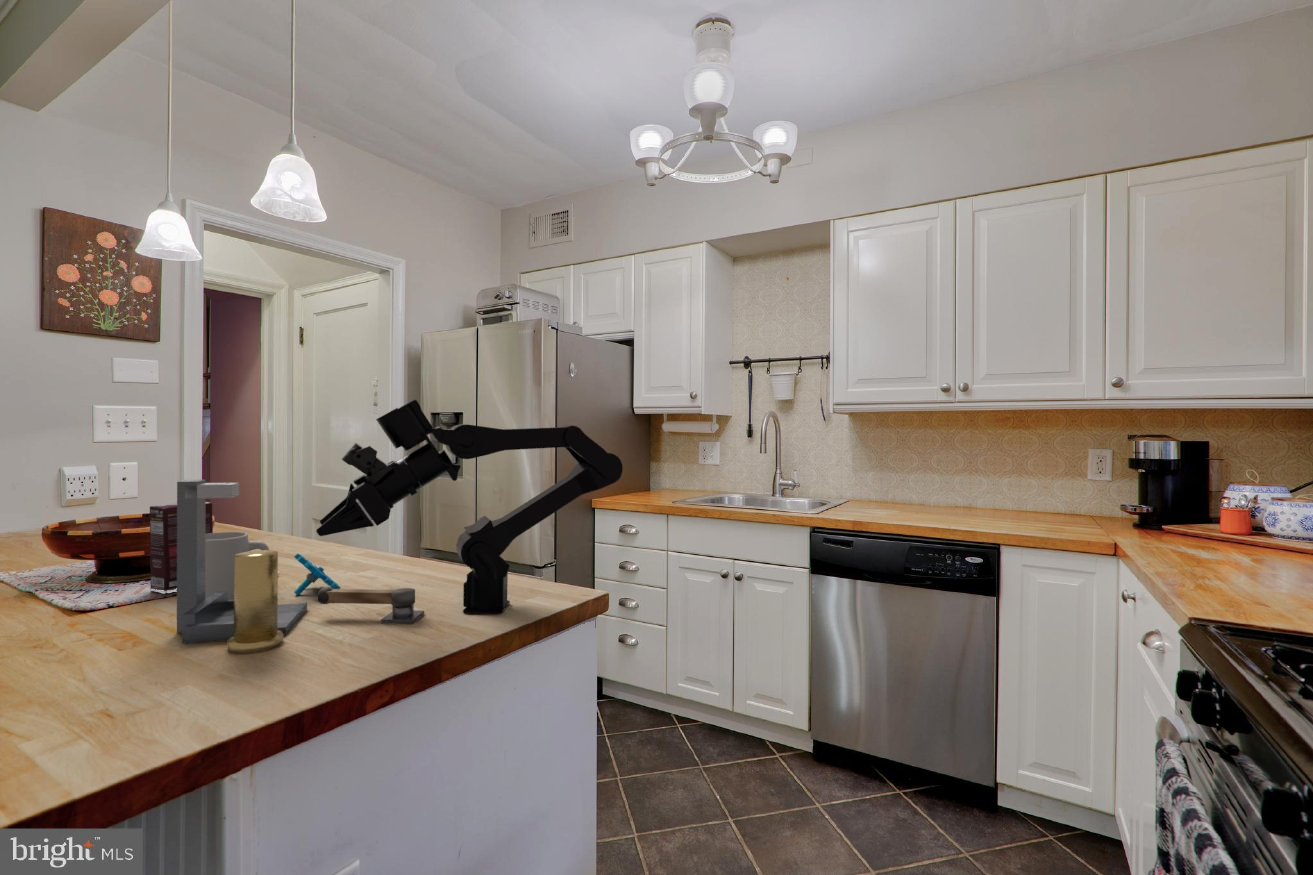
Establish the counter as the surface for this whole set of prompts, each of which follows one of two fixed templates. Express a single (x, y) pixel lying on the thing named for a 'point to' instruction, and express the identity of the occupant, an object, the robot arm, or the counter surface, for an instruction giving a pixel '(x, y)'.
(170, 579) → the supplement box
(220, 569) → the mug
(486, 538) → the robot arm
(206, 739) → the counter surface
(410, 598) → the lever
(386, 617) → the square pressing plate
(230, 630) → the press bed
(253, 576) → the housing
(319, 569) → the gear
